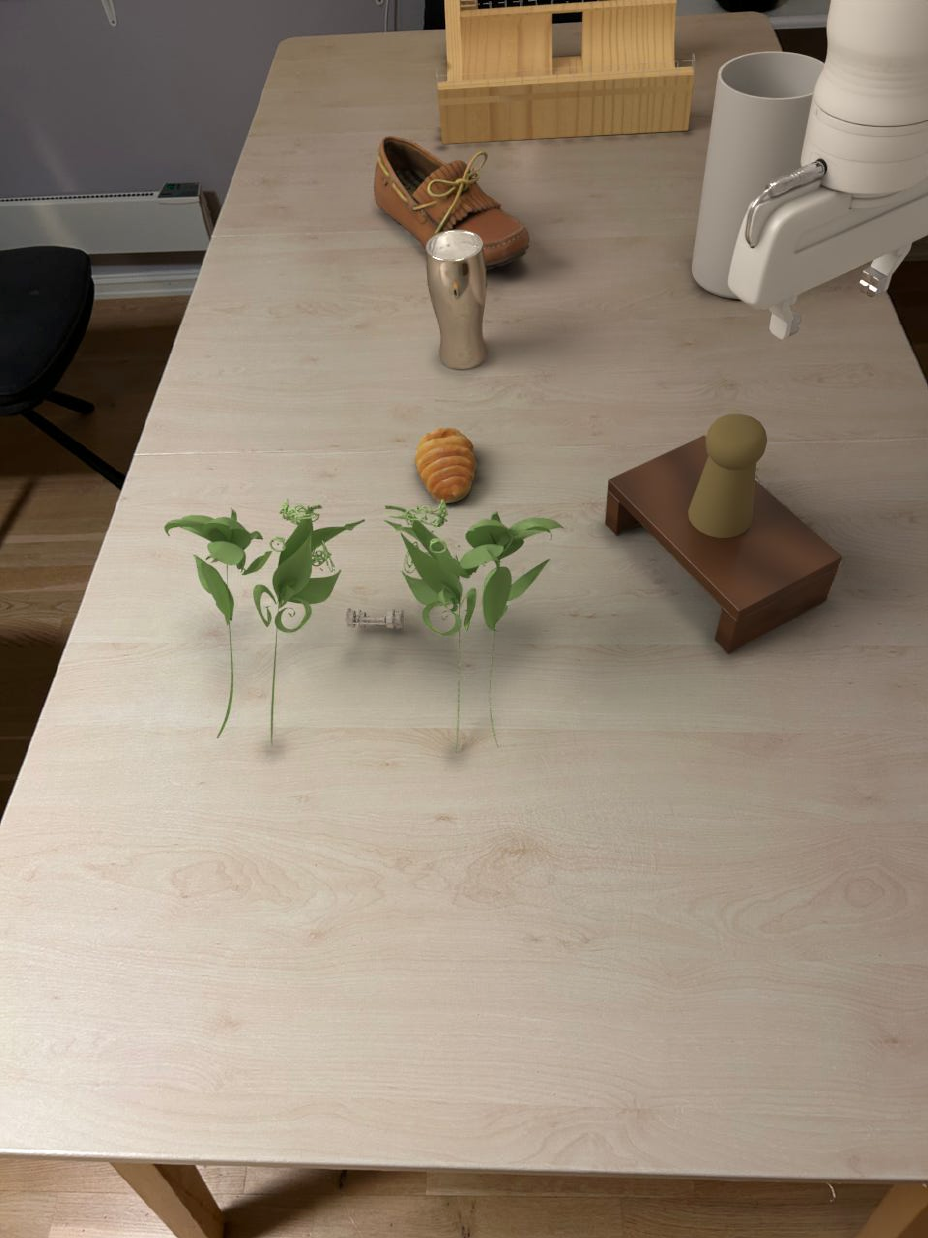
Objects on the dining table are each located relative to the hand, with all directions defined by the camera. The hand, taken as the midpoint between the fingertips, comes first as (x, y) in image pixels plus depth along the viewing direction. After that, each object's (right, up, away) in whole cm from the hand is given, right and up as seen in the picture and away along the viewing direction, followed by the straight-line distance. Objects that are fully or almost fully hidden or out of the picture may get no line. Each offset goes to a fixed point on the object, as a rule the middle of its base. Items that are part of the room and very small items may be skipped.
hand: (828, 311), depth 76 cm
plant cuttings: (-38, -30, +13) cm, 50 cm away
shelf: (-5, -19, +18) cm, 27 cm away
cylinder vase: (+7, +21, +49) cm, 53 cm away
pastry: (-31, -9, +29) cm, 44 cm away
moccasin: (-32, +30, +59) cm, 74 cm away
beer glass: (-30, +8, +42) cm, 52 cm away
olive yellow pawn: (-5, -15, +13) cm, 21 cm away
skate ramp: (-13, +67, +87) cm, 110 cm away
